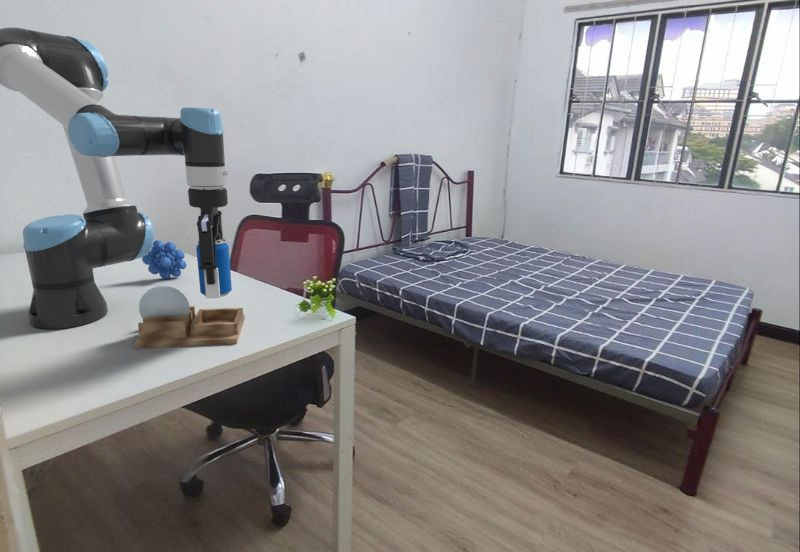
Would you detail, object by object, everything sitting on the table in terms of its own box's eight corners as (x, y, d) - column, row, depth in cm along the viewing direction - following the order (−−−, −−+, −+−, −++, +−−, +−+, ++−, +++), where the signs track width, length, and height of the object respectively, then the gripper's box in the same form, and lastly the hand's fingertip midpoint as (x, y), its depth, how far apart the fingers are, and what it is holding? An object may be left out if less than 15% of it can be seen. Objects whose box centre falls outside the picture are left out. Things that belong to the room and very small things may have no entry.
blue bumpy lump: (145, 285, 133) (140, 244, 130) (144, 278, 139) (139, 239, 135) (189, 280, 139) (185, 241, 135) (186, 274, 144) (183, 236, 141)
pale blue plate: (141, 330, 101) (136, 287, 98) (143, 329, 102) (137, 286, 99) (190, 329, 103) (186, 286, 100) (191, 327, 104) (187, 285, 101)
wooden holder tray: (135, 348, 96) (132, 327, 95) (155, 321, 109) (153, 303, 108) (236, 343, 100) (235, 323, 99) (244, 318, 113) (243, 300, 112)
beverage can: (238, 292, 104) (234, 240, 100) (213, 300, 99) (209, 246, 95) (218, 287, 107) (214, 236, 104) (194, 294, 102) (189, 241, 98)
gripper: (218, 193, 88) (227, 307, 94) (233, 182, 106) (239, 278, 113) (175, 192, 86) (187, 308, 93) (198, 181, 104) (206, 279, 111)
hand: (216, 291), depth 103 cm, fingers closed on beverage can, 6 cm apart
